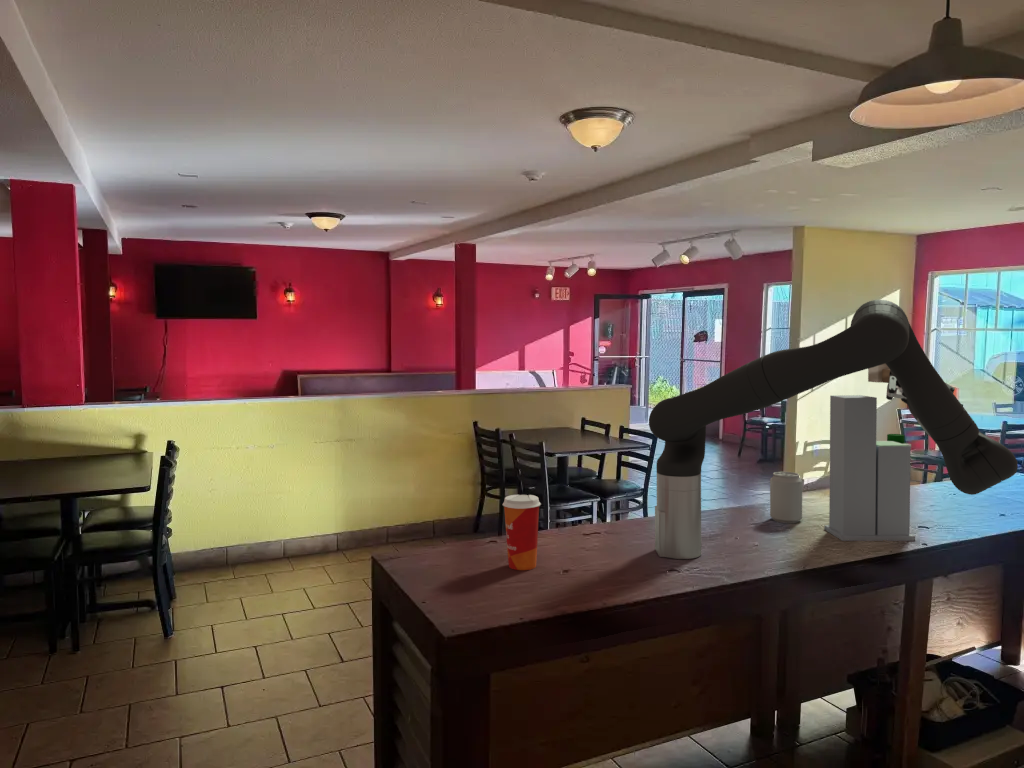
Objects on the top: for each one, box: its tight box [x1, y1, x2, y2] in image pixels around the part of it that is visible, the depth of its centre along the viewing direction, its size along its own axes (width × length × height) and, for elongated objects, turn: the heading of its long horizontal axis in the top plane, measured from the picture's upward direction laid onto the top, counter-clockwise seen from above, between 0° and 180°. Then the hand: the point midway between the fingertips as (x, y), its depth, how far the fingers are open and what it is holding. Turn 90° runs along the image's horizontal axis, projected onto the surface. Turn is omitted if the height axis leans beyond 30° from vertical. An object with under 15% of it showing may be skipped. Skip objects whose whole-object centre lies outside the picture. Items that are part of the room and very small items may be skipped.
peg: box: [867, 364, 890, 384], centre depth 157 cm, size 5×16×5 cm, turn 177°
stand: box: [824, 394, 916, 542], centre depth 162 cm, size 16×10×32 cm, turn 87°
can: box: [769, 471, 803, 524], centre depth 178 cm, size 8×8×12 cm
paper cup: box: [502, 494, 542, 571], centre depth 143 cm, size 8×8×14 cm
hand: (901, 369), depth 155 cm, fingers closed on peg, 3 cm apart
